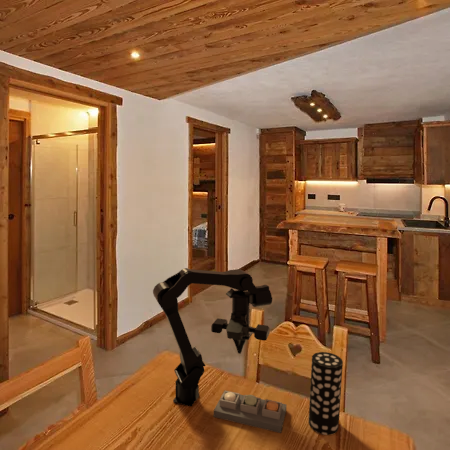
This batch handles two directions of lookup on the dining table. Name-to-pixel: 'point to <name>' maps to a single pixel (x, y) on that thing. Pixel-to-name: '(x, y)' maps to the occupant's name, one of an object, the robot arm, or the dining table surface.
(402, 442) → the dining table surface
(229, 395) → the cream button
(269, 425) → the rack
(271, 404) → the orange button
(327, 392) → the spotted tube
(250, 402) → the sage button
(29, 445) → the dining table surface
